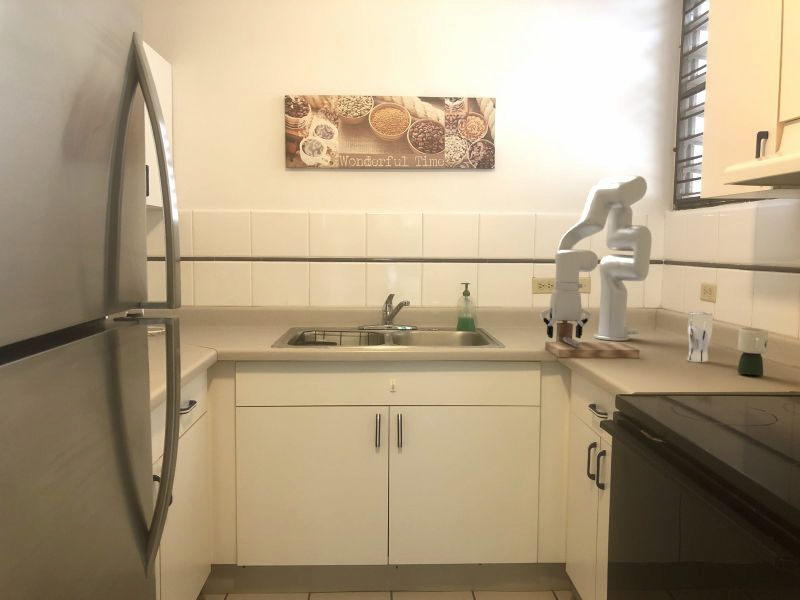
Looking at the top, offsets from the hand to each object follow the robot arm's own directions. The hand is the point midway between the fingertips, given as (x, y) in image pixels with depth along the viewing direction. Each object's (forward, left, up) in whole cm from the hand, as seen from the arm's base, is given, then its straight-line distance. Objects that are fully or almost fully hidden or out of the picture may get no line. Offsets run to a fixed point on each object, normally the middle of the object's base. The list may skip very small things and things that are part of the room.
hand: (564, 337), depth 211 cm
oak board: (-6, +9, -4) cm, 11 cm away
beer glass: (-36, +20, -4) cm, 41 cm away
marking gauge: (0, +6, -3) cm, 7 cm away
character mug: (-40, +40, -4) cm, 57 cm away
